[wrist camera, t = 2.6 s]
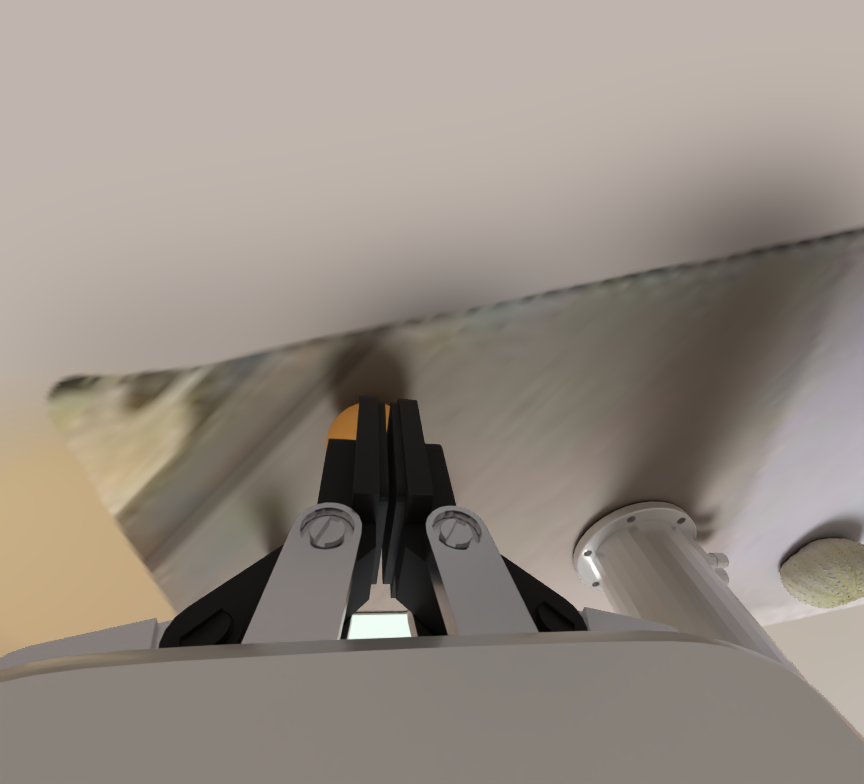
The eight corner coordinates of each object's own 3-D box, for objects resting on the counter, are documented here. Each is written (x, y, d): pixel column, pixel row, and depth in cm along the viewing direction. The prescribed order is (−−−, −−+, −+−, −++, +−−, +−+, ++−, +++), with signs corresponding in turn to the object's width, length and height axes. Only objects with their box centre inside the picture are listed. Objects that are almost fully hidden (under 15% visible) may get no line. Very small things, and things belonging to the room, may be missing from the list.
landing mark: (417, 612, 42) (417, 614, 42) (401, 681, 49) (401, 683, 49) (281, 614, 40) (280, 616, 40) (283, 687, 46) (282, 689, 46)
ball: (415, 390, 29) (423, 436, 24) (405, 454, 32) (410, 508, 27) (332, 383, 28) (322, 430, 23) (329, 450, 31) (319, 506, 26)
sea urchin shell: (859, 585, 47) (864, 644, 42) (774, 556, 52) (769, 606, 47) (890, 534, 43) (899, 594, 38) (793, 507, 48) (790, 557, 43)
